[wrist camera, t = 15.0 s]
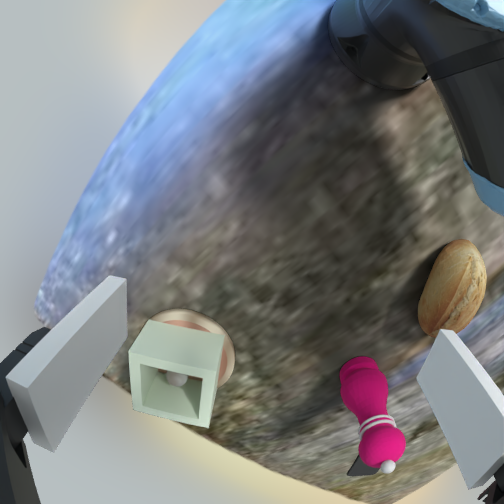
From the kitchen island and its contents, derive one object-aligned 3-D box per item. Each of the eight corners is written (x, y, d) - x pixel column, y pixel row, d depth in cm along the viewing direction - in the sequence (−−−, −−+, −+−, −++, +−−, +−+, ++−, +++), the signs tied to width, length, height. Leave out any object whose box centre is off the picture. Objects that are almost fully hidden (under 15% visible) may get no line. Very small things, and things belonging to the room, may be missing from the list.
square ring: (224, 335, 44) (216, 371, 36) (216, 390, 47) (208, 427, 39) (148, 319, 44) (128, 351, 36) (149, 376, 47) (133, 409, 39)
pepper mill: (387, 369, 46) (426, 464, 28) (352, 394, 48) (376, 491, 29) (364, 345, 45) (403, 447, 26) (327, 372, 47) (347, 477, 28)
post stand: (242, 319, 45) (237, 350, 37) (228, 394, 49) (223, 427, 42) (140, 299, 44) (119, 325, 37) (141, 375, 49) (126, 404, 42)
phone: (346, 476, 57) (370, 438, 52) (345, 473, 57) (369, 435, 52) (375, 474, 56) (402, 436, 52) (374, 472, 57) (401, 433, 52)
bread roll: (396, 322, 44) (415, 352, 36) (432, 227, 39) (461, 244, 31) (444, 329, 44) (466, 357, 36) (479, 242, 39) (510, 260, 32)
